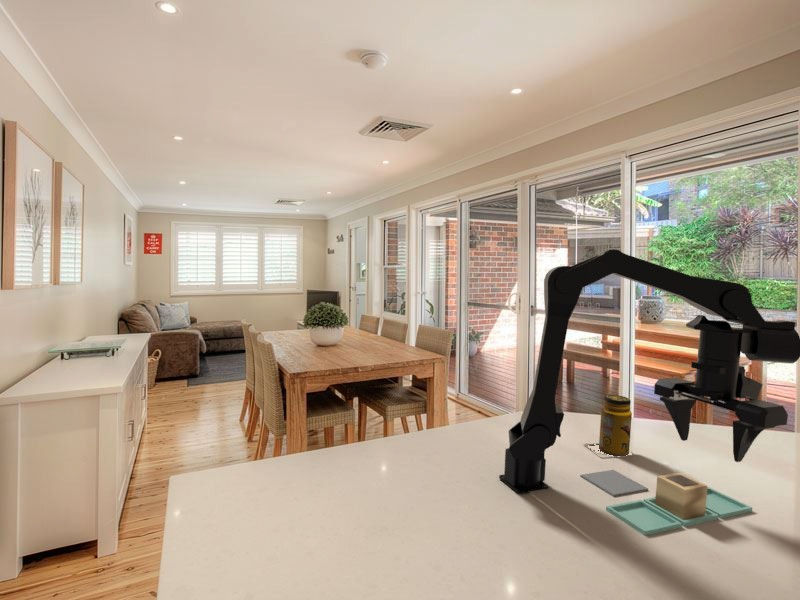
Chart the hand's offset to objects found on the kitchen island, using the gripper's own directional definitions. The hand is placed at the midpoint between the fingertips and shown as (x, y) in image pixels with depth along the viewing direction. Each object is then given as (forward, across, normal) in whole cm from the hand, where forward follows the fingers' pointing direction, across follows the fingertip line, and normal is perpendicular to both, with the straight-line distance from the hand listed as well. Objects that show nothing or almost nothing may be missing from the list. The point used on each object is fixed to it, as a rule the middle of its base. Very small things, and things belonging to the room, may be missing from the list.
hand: (709, 450), depth 78 cm
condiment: (+10, +24, -3) cm, 26 cm away
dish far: (+10, 0, -2) cm, 10 cm away
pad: (+10, +11, +9) cm, 17 cm away
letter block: (+9, 0, +6) cm, 11 cm away
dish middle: (+10, 0, +6) cm, 11 cm away
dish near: (+10, 0, +14) cm, 17 cm away
